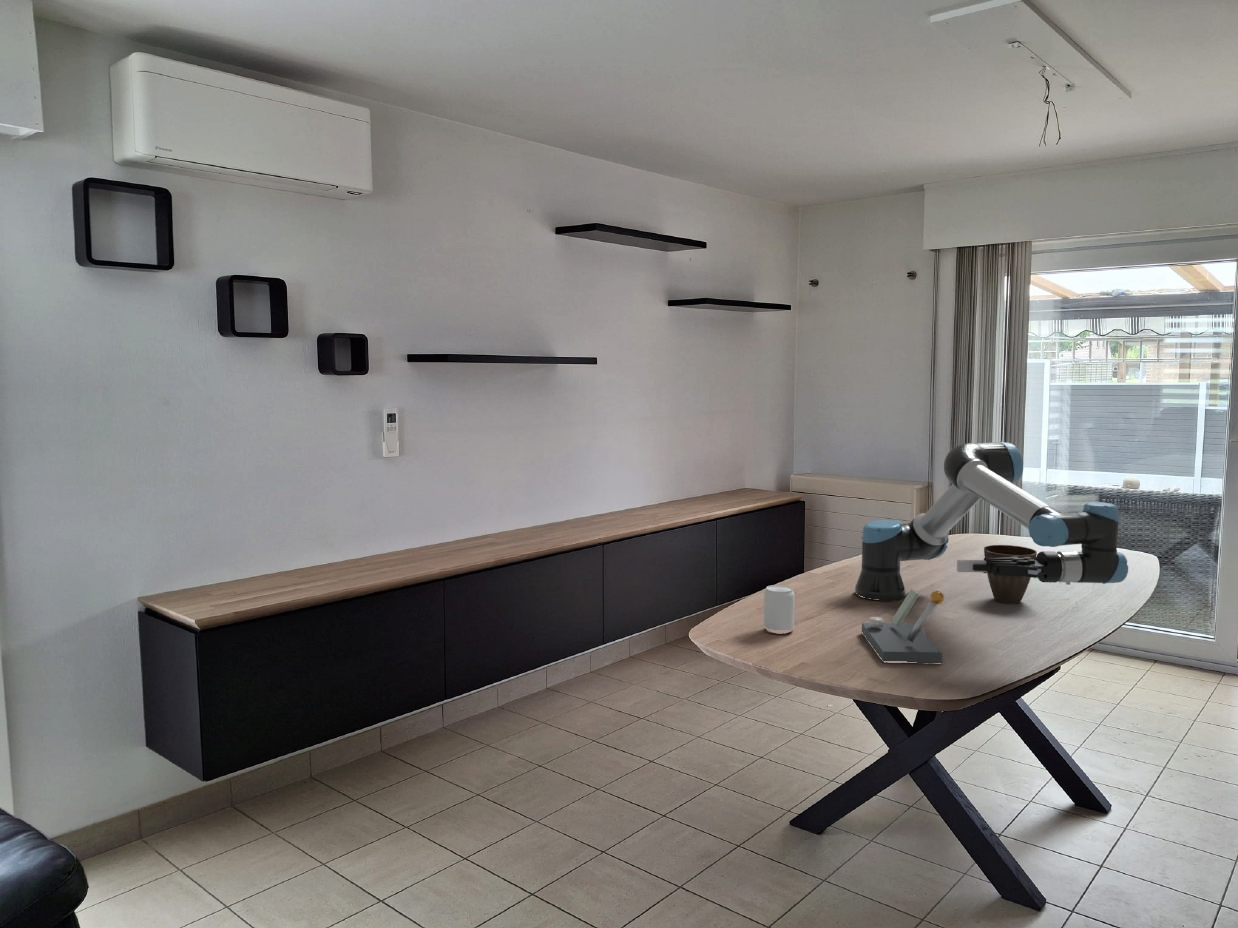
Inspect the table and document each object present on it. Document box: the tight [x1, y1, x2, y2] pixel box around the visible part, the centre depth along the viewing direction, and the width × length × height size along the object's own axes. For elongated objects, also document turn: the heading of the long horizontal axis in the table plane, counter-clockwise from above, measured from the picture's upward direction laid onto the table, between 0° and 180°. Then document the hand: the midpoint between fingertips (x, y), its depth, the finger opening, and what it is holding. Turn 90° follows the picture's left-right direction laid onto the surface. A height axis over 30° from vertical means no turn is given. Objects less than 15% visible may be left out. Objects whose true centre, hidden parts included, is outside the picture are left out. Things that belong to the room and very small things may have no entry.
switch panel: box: [861, 622, 943, 664], centre depth 224 cm, size 24×14×3 cm, turn 177°
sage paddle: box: [891, 588, 920, 627], centre depth 230 cm, size 4×1×10 cm, turn 177°
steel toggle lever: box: [906, 590, 945, 642], centre depth 216 cm, size 3×3×14 cm
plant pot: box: [983, 544, 1038, 605], centre depth 269 cm, size 15×15×16 cm
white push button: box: [868, 616, 884, 627], centre depth 231 cm, size 4×4×2 cm
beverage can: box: [763, 584, 796, 630], centre depth 238 cm, size 8×8×12 cm
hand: (957, 565), depth 214 cm, fingers closed
